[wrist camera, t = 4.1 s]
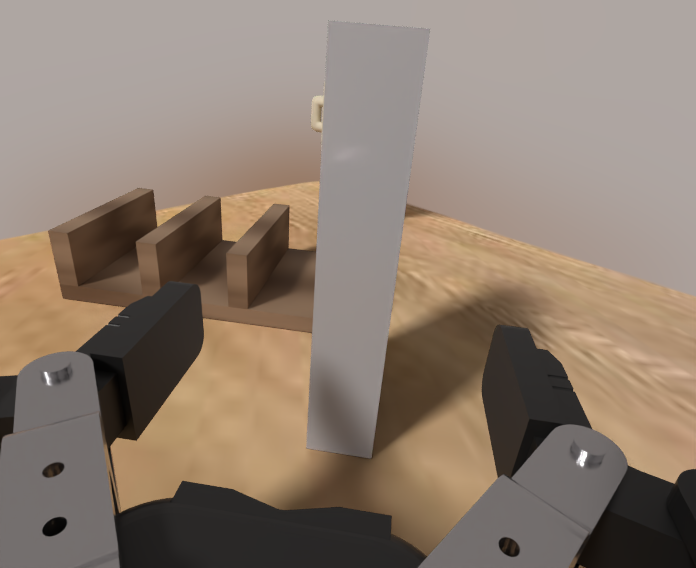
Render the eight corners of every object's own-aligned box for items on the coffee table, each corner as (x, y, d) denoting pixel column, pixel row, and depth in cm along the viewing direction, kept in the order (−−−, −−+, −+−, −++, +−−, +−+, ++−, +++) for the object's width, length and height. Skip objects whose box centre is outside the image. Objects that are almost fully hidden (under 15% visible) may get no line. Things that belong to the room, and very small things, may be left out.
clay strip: (329, 365, 25) (354, 31, 18) (380, 373, 25) (425, 37, 18) (306, 448, 20) (328, 20, 13) (371, 458, 20) (430, 28, 13)
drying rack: (145, 242, 38) (138, 188, 36) (355, 268, 37) (360, 213, 35) (62, 298, 29) (48, 230, 27) (335, 335, 28) (340, 267, 26)
